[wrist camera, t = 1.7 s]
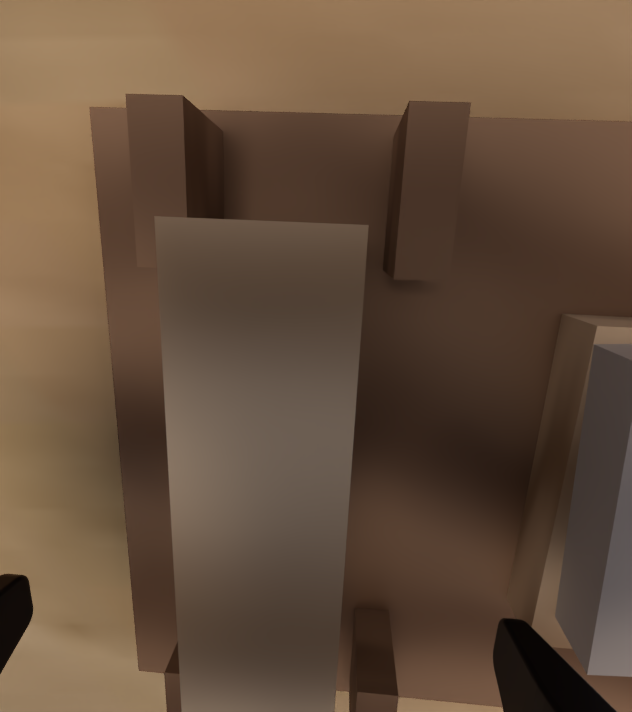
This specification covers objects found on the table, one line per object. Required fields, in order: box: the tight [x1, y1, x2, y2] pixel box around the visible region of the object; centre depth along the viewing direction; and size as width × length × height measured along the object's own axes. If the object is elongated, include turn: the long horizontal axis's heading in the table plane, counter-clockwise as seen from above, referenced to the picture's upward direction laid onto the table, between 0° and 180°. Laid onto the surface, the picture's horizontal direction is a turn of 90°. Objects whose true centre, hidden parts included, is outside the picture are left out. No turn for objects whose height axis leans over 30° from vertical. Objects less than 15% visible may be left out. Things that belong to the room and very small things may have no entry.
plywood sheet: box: [154, 216, 369, 712], centre depth 11 cm, size 14×3×6 cm, turn 178°
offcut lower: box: [507, 314, 632, 649], centre depth 13 cm, size 10×5×2 cm, turn 178°
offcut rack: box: [90, 94, 632, 712], centre depth 13 cm, size 20×20×4 cm
